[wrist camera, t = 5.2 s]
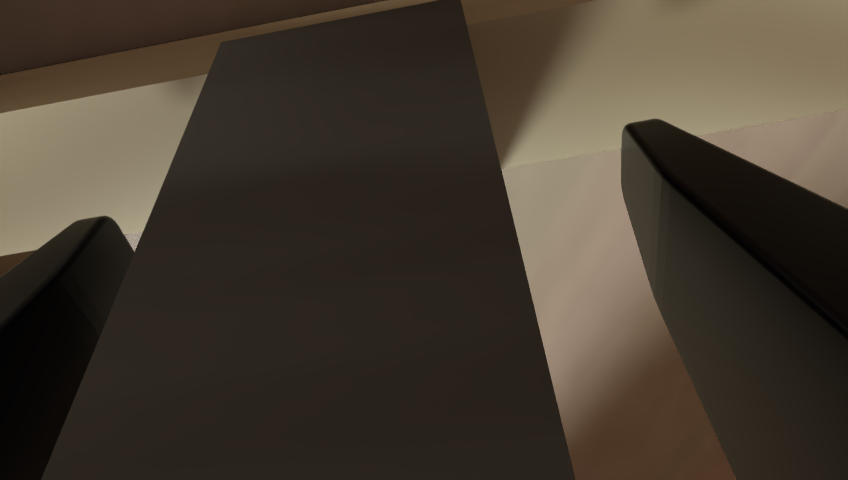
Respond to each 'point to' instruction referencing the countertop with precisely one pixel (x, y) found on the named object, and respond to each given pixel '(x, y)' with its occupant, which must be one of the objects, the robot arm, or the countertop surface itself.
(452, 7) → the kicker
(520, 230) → the countertop surface
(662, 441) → the countertop surface
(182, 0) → the countertop surface
